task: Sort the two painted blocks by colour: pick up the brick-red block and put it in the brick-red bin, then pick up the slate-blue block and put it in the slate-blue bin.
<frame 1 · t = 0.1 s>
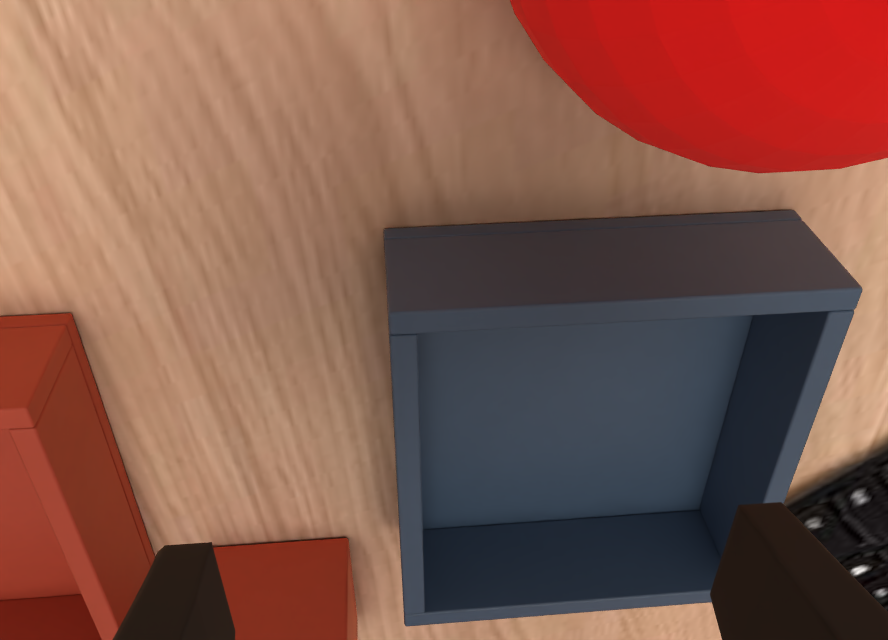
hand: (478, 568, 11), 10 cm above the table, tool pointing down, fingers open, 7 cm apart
red block: (286, 584, 27), on the table
blue bin: (571, 390, 23), on the table
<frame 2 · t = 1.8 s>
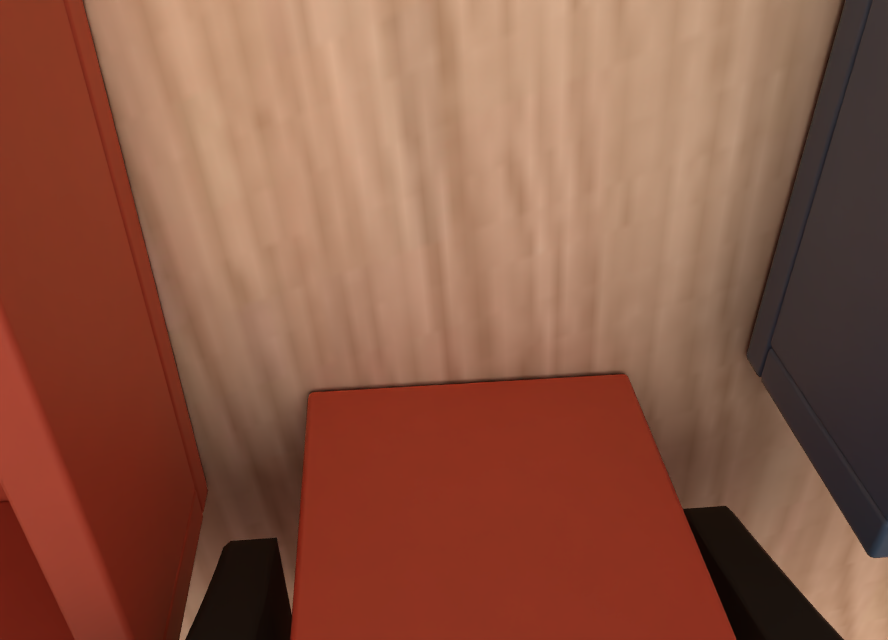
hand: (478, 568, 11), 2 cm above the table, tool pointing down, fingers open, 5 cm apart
red block: (467, 490, 13), on the table
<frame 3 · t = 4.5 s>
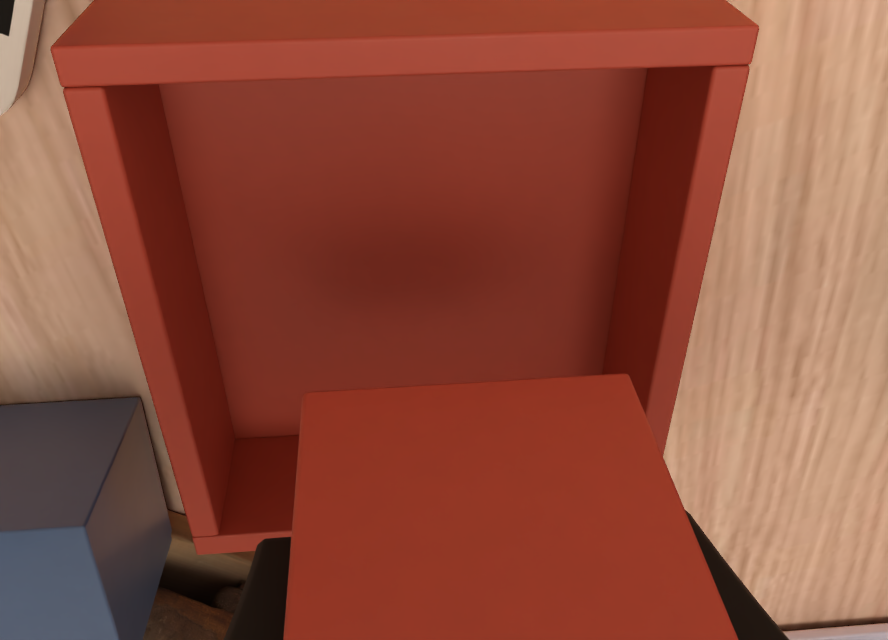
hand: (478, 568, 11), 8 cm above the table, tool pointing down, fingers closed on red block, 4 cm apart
red block: (465, 491, 12), point 7 cm above the table, touching gripper
blue block: (67, 475, 21), on the table, tilted 8°, touching figurine
figurine: (315, 609, 26), on the table, touching blue block
red bin: (412, 244, 18), on the table
when the fingers open (2 cm above the table, at t = 6.8 s): red block stays where it is, resting on red bin.
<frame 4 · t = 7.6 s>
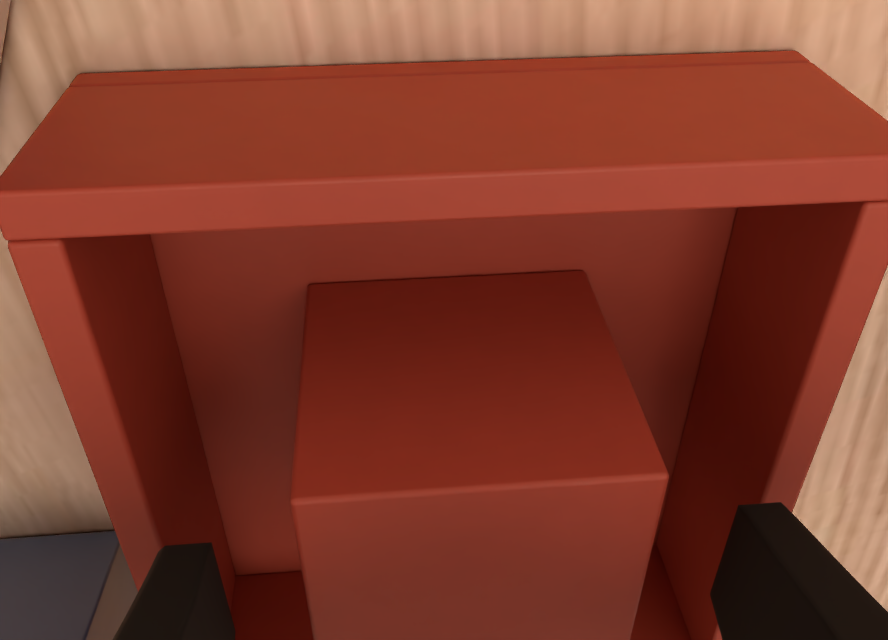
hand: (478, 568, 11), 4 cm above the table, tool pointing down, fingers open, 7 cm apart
red block: (447, 381, 14), resting on red bin
blue block: (40, 614, 18), on the table, tilted 8°, touching figurine
red bin: (447, 364, 15), on the table
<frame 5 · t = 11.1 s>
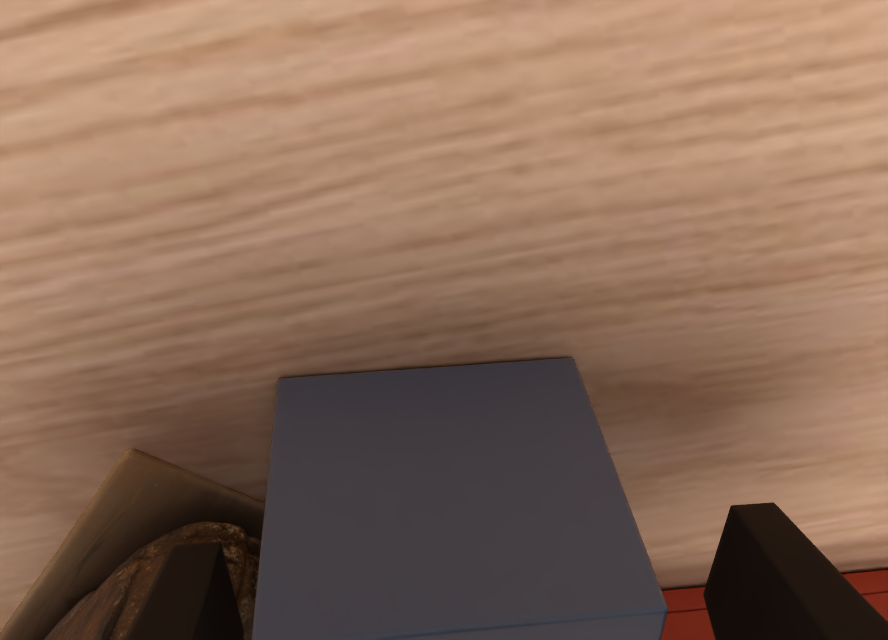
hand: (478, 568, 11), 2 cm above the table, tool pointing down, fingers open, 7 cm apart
blue block: (430, 471, 14), on the table
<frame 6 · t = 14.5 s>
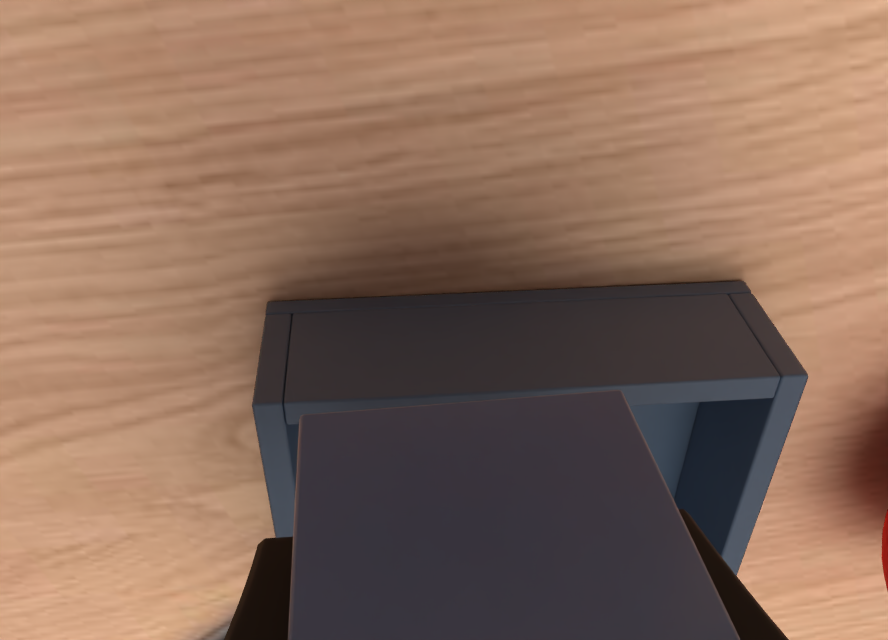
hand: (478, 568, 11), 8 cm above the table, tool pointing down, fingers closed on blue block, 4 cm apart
blue block: (462, 514, 12), point 7 cm above the table, touching gripper
blue bin: (500, 446, 22), on the table
when the fingers open (2 cm above the table, at t = 17.3 s): blue block stays where it is, resting on blue bin.
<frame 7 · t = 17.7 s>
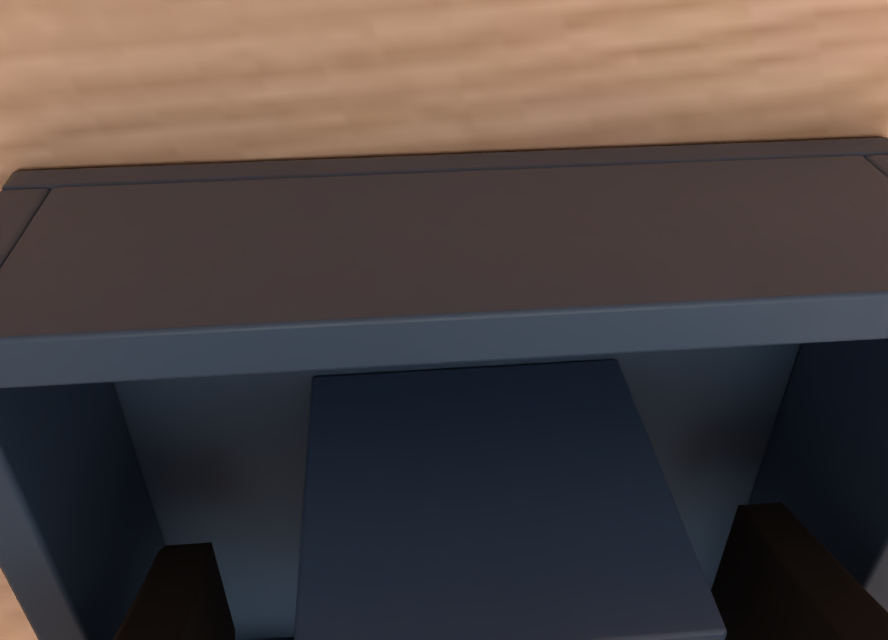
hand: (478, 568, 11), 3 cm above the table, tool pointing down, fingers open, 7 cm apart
blue block: (464, 472, 13), resting on blue bin
blue bin: (461, 437, 13), on the table
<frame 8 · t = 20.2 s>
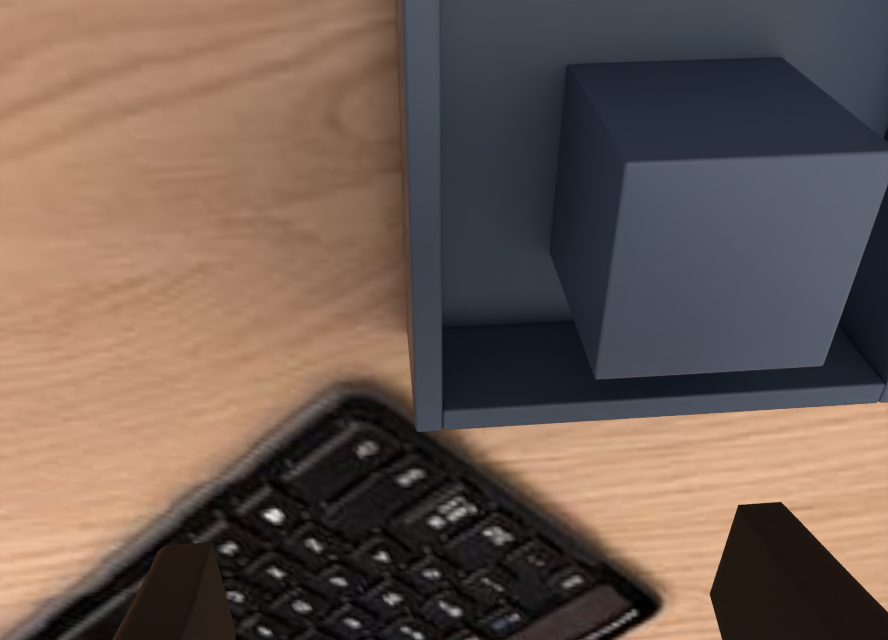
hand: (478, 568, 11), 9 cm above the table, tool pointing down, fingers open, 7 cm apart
blue block: (658, 162, 18), resting on blue bin
blue bin: (653, 140, 18), on the table
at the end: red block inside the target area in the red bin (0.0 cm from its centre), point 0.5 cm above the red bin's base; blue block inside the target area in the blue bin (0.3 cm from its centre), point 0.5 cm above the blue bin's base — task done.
